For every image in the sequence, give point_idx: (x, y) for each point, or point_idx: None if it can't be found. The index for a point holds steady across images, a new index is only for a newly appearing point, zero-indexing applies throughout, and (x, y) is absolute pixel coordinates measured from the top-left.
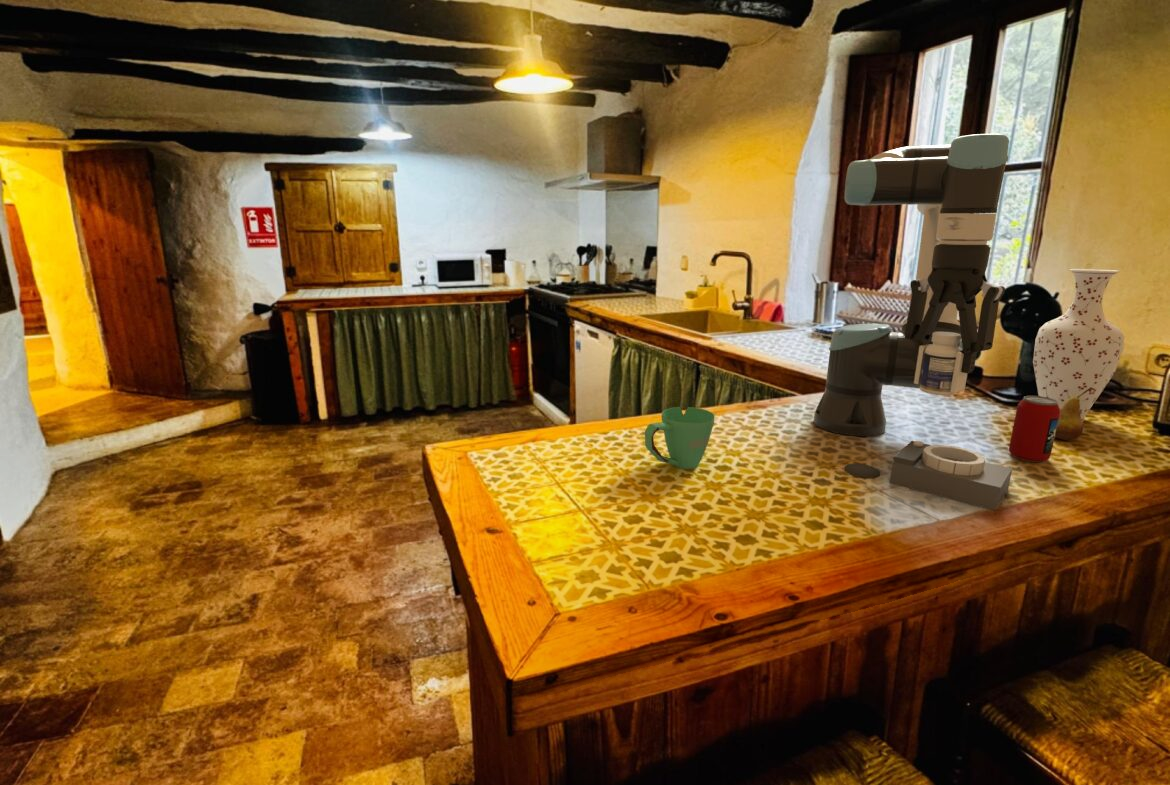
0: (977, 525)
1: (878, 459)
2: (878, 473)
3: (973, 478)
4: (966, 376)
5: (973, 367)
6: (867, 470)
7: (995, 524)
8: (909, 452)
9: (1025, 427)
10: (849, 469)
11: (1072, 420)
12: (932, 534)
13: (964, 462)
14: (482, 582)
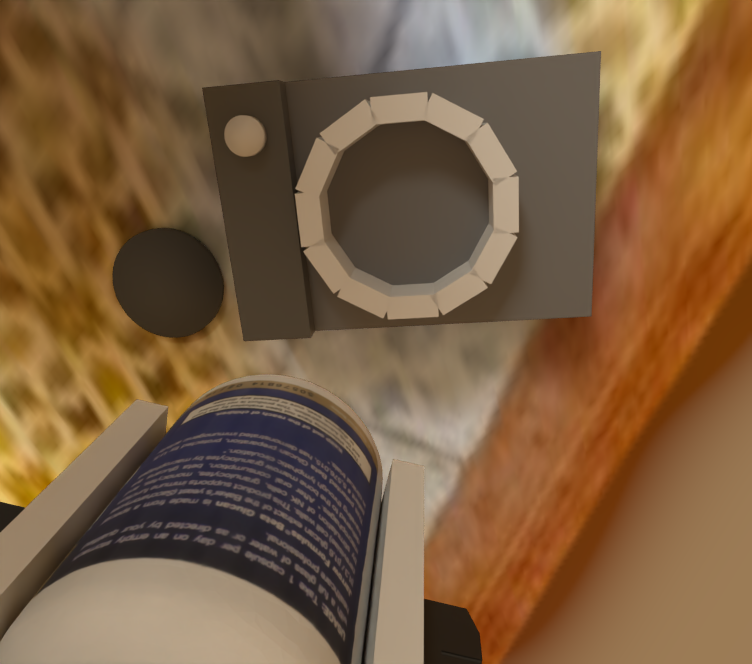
0: (547, 427)
1: (140, 113)
2: (216, 279)
3: (502, 294)
4: (422, 537)
5: (477, 656)
6: (181, 280)
7: (584, 389)
8: (262, 253)
9: None
10: (142, 315)
11: None
12: (474, 544)
13: (464, 285)
14: None
